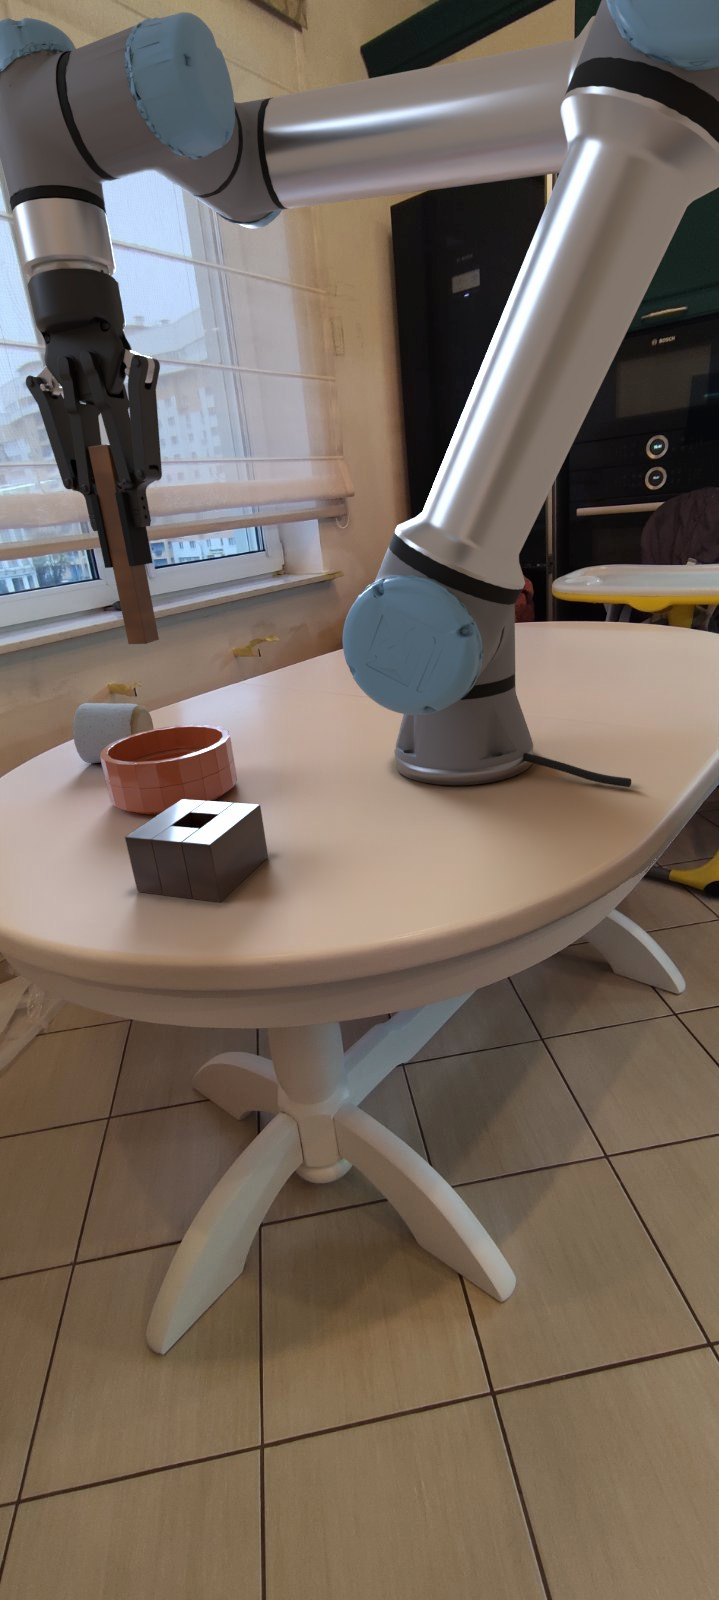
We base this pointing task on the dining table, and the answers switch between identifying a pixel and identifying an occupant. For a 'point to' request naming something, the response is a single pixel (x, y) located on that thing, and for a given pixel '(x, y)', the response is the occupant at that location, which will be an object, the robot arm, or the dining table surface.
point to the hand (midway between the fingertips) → (129, 565)
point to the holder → (198, 849)
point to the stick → (123, 553)
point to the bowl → (168, 767)
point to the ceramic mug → (106, 726)
